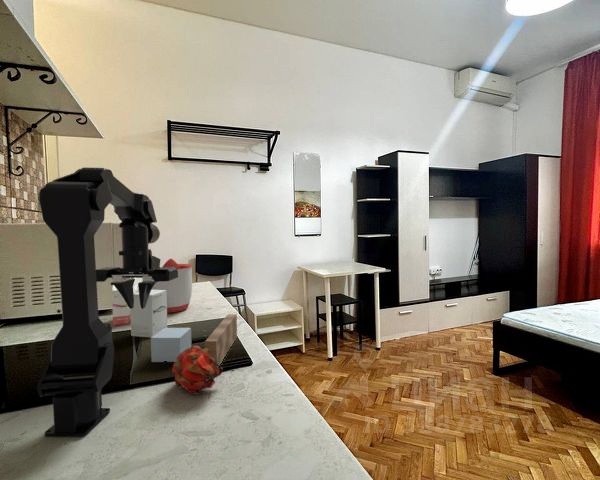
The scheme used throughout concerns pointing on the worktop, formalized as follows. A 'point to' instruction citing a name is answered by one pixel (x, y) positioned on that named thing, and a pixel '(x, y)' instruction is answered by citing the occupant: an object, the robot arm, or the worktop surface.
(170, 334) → the slate block
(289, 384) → the worktop surface
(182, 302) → the citrus juicer
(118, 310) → the ink cartridge box
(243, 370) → the worktop surface
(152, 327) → the supplement box
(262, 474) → the worktop surface
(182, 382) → the dragon fruit
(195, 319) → the worktop surface
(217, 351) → the walnut board
